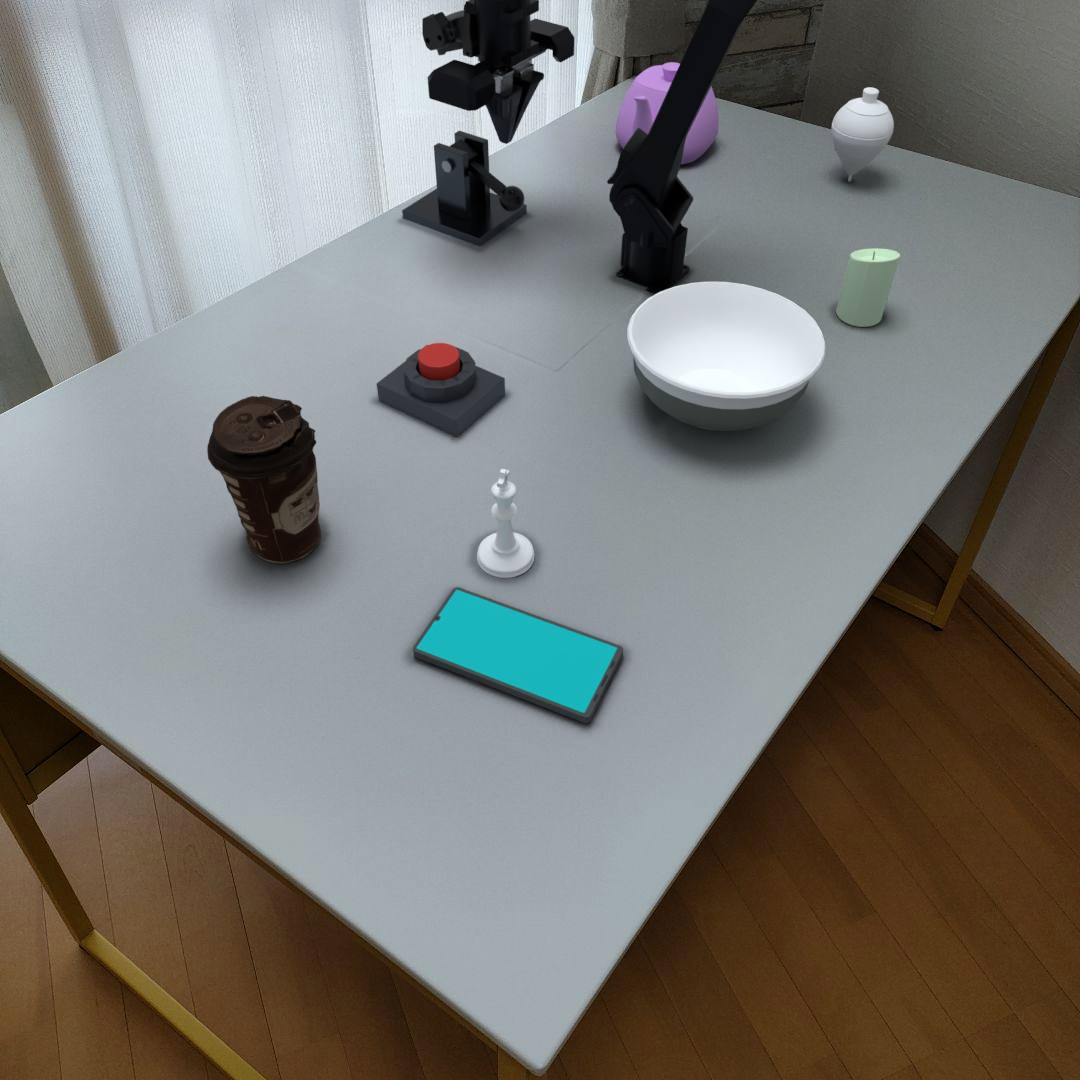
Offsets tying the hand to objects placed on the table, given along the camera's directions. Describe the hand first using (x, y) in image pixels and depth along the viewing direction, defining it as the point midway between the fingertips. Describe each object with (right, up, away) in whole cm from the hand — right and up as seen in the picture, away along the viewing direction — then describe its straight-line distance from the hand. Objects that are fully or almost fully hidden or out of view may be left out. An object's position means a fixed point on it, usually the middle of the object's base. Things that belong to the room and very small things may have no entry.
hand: (505, 141), depth 111 cm
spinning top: (+45, +3, +21) cm, 50 cm away
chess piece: (+1, -46, -26) cm, 53 cm away
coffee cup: (-18, -45, -24) cm, 54 cm away
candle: (+39, -20, 0) cm, 44 cm away
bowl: (+21, -31, -11) cm, 39 cm away
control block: (-6, -30, -11) cm, 33 cm away
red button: (-6, -28, -13) cm, 32 cm away
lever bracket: (-6, -4, +14) cm, 15 cm away
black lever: (-3, -2, +9) cm, 10 cm away
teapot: (+21, +10, +27) cm, 36 cm away
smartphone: (+2, -54, -33) cm, 63 cm away
